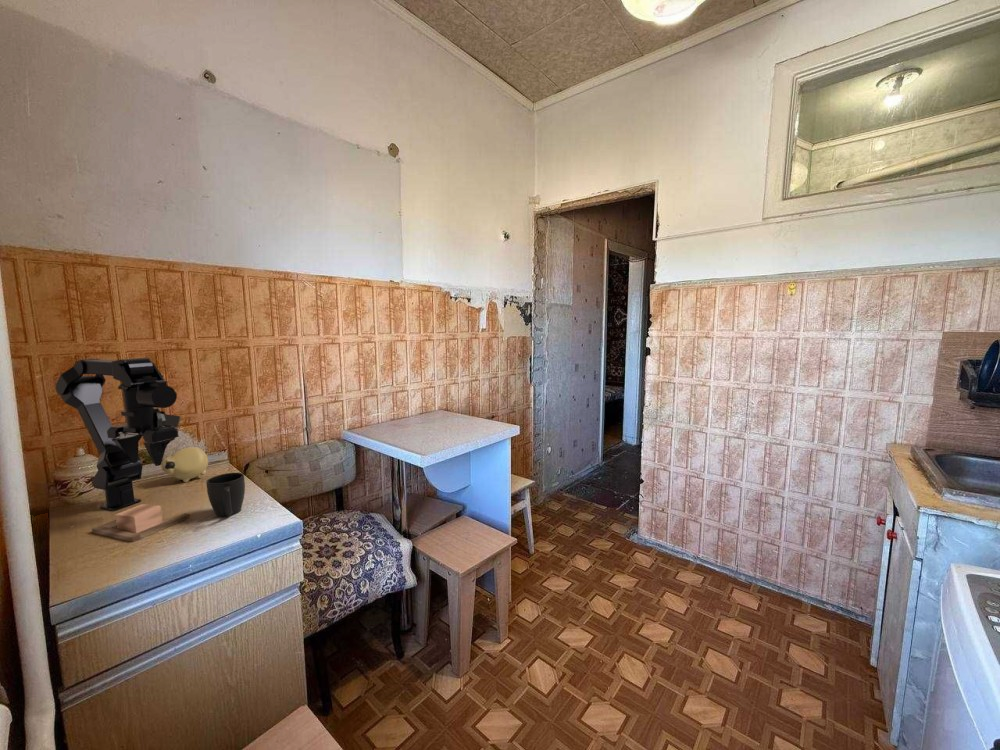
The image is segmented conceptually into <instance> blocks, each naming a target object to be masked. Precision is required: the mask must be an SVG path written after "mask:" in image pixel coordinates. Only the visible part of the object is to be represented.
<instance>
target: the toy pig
mask: <svg viewBox="0 0 1000 750" xmlns="http://www.w3.org/2000/svg"><path fill="white" fill-rule="evenodd" d="M208 465H209V458H208V456H207V454H206V453H205V451H204V450H203V449H202V448H199V447H196V446H189V447H185V448H182V449H179V450H177V451H176V452H174V453H173V454H172V455H171V456H167V457H166V458H163V459H162V463H161V465H160V467H161V470H162V472H164V473H165V474H167V475H170V476H172V477H174V478H175V479H177V480H182V481H183V483H188V482H189V481H190V480H191V479H194V478H197V477H199V476H205V475H206V473H207V471H206V469H207V468H208Z"/></svg>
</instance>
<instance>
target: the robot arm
mask: <svg viewBox="0 0 1000 750" xmlns="http://www.w3.org/2000/svg"><path fill="white" fill-rule="evenodd" d="M87 374H88V375H87ZM94 375H95V376H94ZM104 376H109V377H111V376H112V378H113V380H116V381H119V382H121V384H118V387H117V389H118V390H122V395H123V404H124V411H120V413H121V414H120V415H121V417H122V416H123V417H125V421H126V423H123V424H120V425H119V424H118V425H115V426H113V424H112V423H111V420H110V419H109V416H108V414H107V412H106V410H105V409H104V407H103V405H102V403H101V399H102V396H103V393H104V389H103V386H105V383H106V378H105V377H104ZM167 382H168V381H166V380H165V378H164V375H163V374H162V372H160V370H159V369H158V368H157V366H156V365H155V363H154V362H153V361H152V359H151V358H149V357H139V358H124V359H121V358H120V359H116V360H112V359H101V358H82V359H81V358H80V359H79V360H76V361H75V363H73V366H72V367H70V368H69V369H67V370H66V371H64V372H63V373H61V374H60V375H59V378H58V380H57V382H56V384H55V391H56V393H57V395H59V396H60V398H61V399H62V400H63V402H64V403H65V404H66V405H69V406H70V407H72V408H75V409H76V410H77V412H78V414H79V416H80V418H81V420H82V422H83V424H84V426H85V428H86V429H87V432H88V433H89V435H90V438H91V439H92V442H93V443H94V446H95V448H96V449H97V452H98V454H99V456H98V460H97V463H96V468H97V472H96V473H95V475H94V476H93V479H92V480H91V482H92V485H93V488H94V489H98V490H104V497H105V503H104V504H101V505H99V508H100V509H105V510H110V511H116V510H120V509H124V508H125V507H129V506H131V505H134V504H137V503H139V502H141V501H142V499H141V498H135V493H134V486H133V485H134V484H133V482H135V481H138V480H141V479H142V474H143V466H144V465H143V462H142V460H141V458H140V456H139V442H140V440H141V439H142V438H143V440H144V441H145V442H143V445H144V447H145V450H146V451H147V453H148V454H149V455H148V456H150V458H151V461H152V464H154V466H155V467H158V466H161V463H162V460H163V459H164V455H165V452H166V450H167V449H166V448H167V447H168V445H169V444H170V443H172V441H175V439H176V438H178V437H180V435H179V429H178V427H179V425H180V421H181V415H173V414H166V411H164V410H160V409H166V408H169V407H172V406H174V404H175V403H176V401H177V397H178V395H177V392H176V391H175V389H174V388H173V387H171V386H169V385H168V383H167ZM159 408H160V409H159Z"/></svg>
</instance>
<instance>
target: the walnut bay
mask: <svg viewBox="0 0 1000 750" xmlns="http://www.w3.org/2000/svg"><path fill="white" fill-rule="evenodd" d="M190 518H191V516H190V513H188V512H187V513H183V514H180V515H178V516H175V517H173V518H171V519H167V520H166V521H163V523H160V524H158V525H156V526H153V527H151V528H149V529H146V530H144V531H141V532H139V533H136V534H135V533H130V532H126V531H121V530H117V528H116V529H115V528H114V527H117V523H116V519H115V520H112V521H108V522H106V523H103V524H100V525H98V526H95V527H92V528H91V533H93V534H97V535H101V536H106V537H110V538H114V539H119V540H122V541H127V542H131V543H134V542H136V541H140V540H141V539H144V538H146V537H147V536H150V535H153V534H155V533H157V532H160V531H162V530H165V529H167V528H170V527H171V526H174V525H176V524H179V523H181V522H183V521H185V520H188V519H190Z"/></svg>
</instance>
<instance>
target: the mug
mask: <svg viewBox="0 0 1000 750" xmlns="http://www.w3.org/2000/svg"><path fill="white" fill-rule="evenodd" d="M205 484H206V491H207V492H206V493H207V497H208V500H209V504H210V505H211V507H212V509H213V512H214V513H215V516H216V517H218V518H228V517H232V516H235V515H237V514H238V513H240V512H241V511H242V506H243V504H244V503H243V502H244V499H245V492H246V483H245V474H244V473H242V472H229V473H222V474H219V475H215V476H213V477H210V478H207V480H206V481H205Z"/></svg>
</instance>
